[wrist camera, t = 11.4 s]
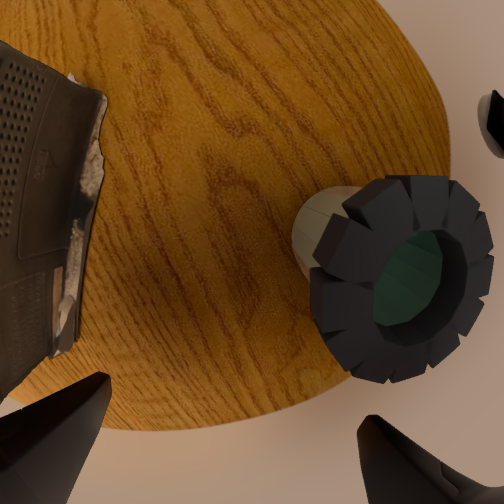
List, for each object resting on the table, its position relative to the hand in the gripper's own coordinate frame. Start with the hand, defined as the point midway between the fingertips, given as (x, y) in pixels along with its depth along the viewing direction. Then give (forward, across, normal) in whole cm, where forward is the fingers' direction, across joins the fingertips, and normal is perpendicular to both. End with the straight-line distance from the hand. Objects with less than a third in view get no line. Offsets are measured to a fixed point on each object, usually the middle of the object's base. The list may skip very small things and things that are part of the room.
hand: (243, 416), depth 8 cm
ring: (+4, -6, -5) cm, 9 cm away
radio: (+13, +17, -2) cm, 22 cm away
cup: (+13, -6, -5) cm, 15 cm away
